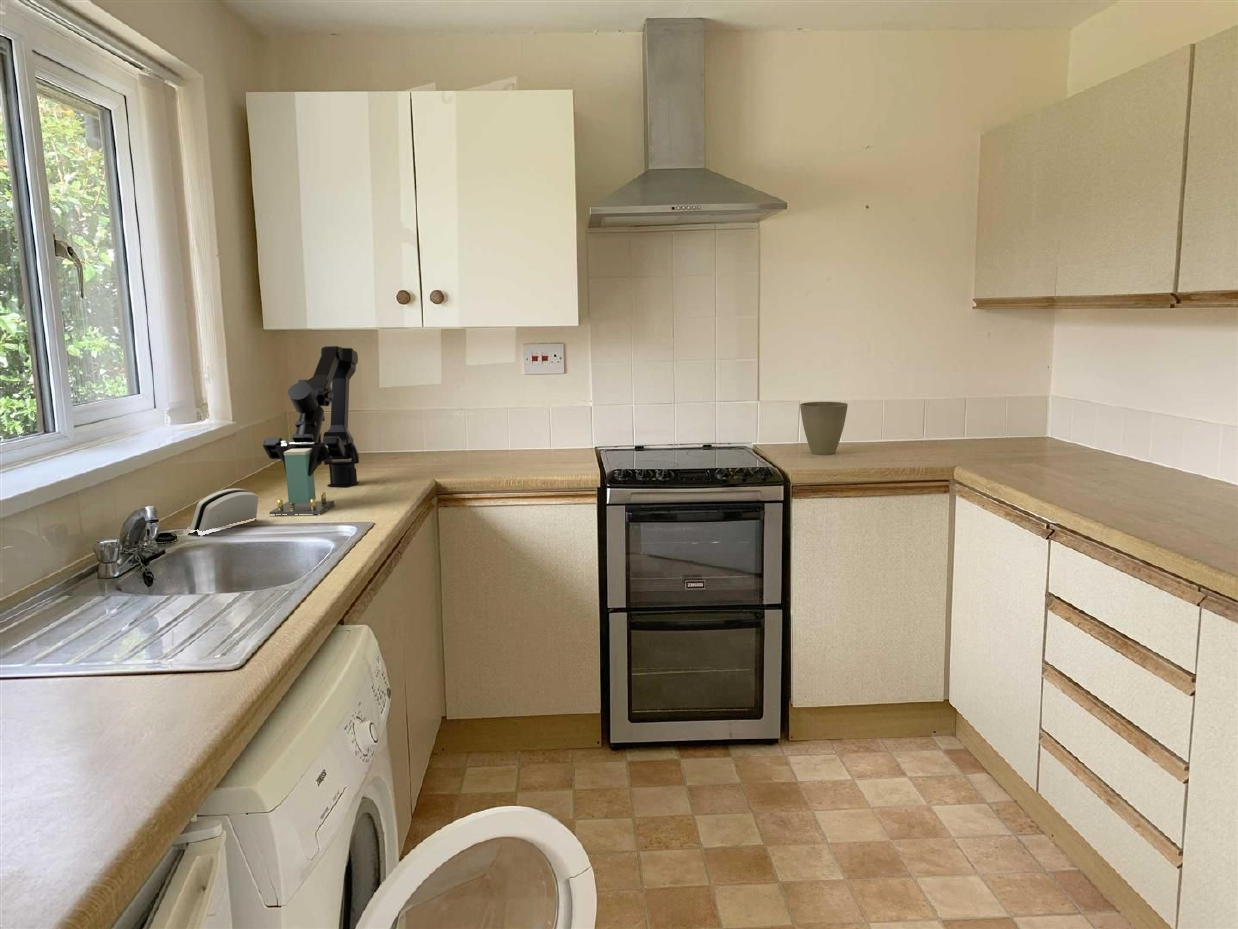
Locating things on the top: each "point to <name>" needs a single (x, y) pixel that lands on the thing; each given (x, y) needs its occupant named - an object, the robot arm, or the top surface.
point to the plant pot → (823, 425)
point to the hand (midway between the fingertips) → (298, 475)
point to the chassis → (303, 507)
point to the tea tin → (299, 476)
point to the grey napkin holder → (224, 509)
